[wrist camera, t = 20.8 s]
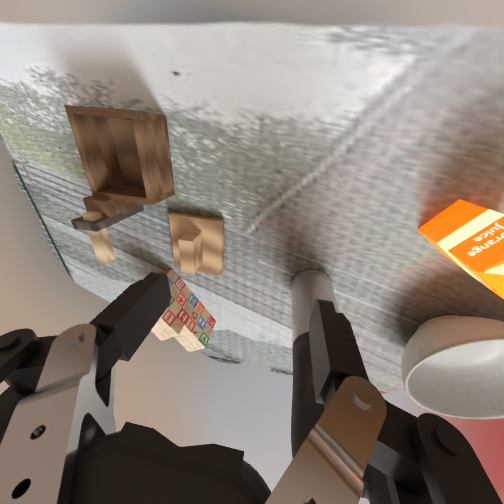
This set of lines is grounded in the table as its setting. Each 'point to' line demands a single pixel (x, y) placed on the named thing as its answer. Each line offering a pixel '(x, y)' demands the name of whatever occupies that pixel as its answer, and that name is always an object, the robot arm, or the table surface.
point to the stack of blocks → (184, 317)
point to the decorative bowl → (457, 367)
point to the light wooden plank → (100, 239)
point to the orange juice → (471, 241)
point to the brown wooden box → (121, 161)
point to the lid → (197, 243)
